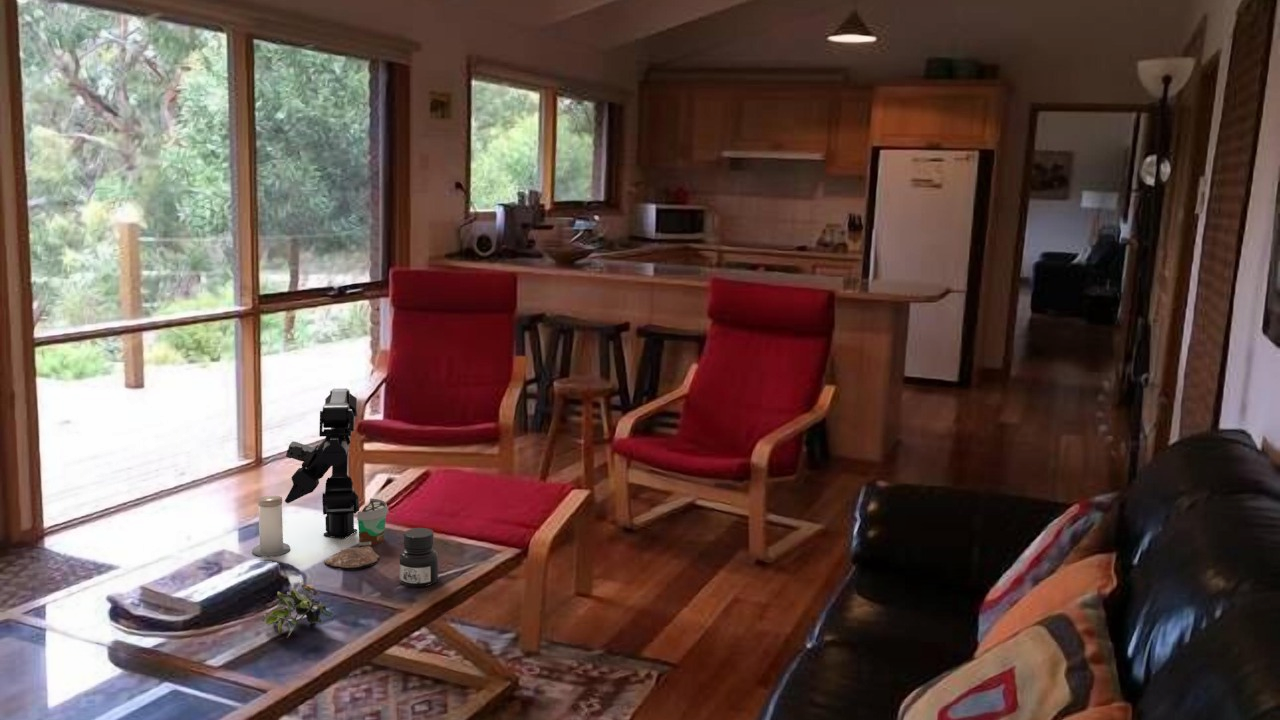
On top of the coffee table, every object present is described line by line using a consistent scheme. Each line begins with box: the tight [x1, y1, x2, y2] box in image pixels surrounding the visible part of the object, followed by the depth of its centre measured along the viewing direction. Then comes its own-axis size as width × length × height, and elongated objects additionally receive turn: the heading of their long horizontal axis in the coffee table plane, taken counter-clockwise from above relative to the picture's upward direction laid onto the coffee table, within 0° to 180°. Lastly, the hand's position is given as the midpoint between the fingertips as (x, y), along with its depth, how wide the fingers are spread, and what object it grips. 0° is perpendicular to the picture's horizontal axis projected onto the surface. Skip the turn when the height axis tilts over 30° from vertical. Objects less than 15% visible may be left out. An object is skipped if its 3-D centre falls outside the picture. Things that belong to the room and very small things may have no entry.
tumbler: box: [257, 495, 284, 552], centre depth 260 cm, size 6×6×13 cm
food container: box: [356, 497, 390, 548], centre depth 268 cm, size 12×6×10 cm, turn 179°
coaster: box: [251, 542, 291, 558], centre depth 261 cm, size 9×9×1 cm
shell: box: [323, 546, 380, 571], centre depth 255 cm, size 12×13×4 cm
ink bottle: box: [399, 527, 439, 588], centre depth 244 cm, size 10×9×12 cm
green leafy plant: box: [261, 584, 334, 639], centre depth 216 cm, size 11×11×12 cm
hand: (290, 496), depth 262 cm, fingers open, 9 cm apart
